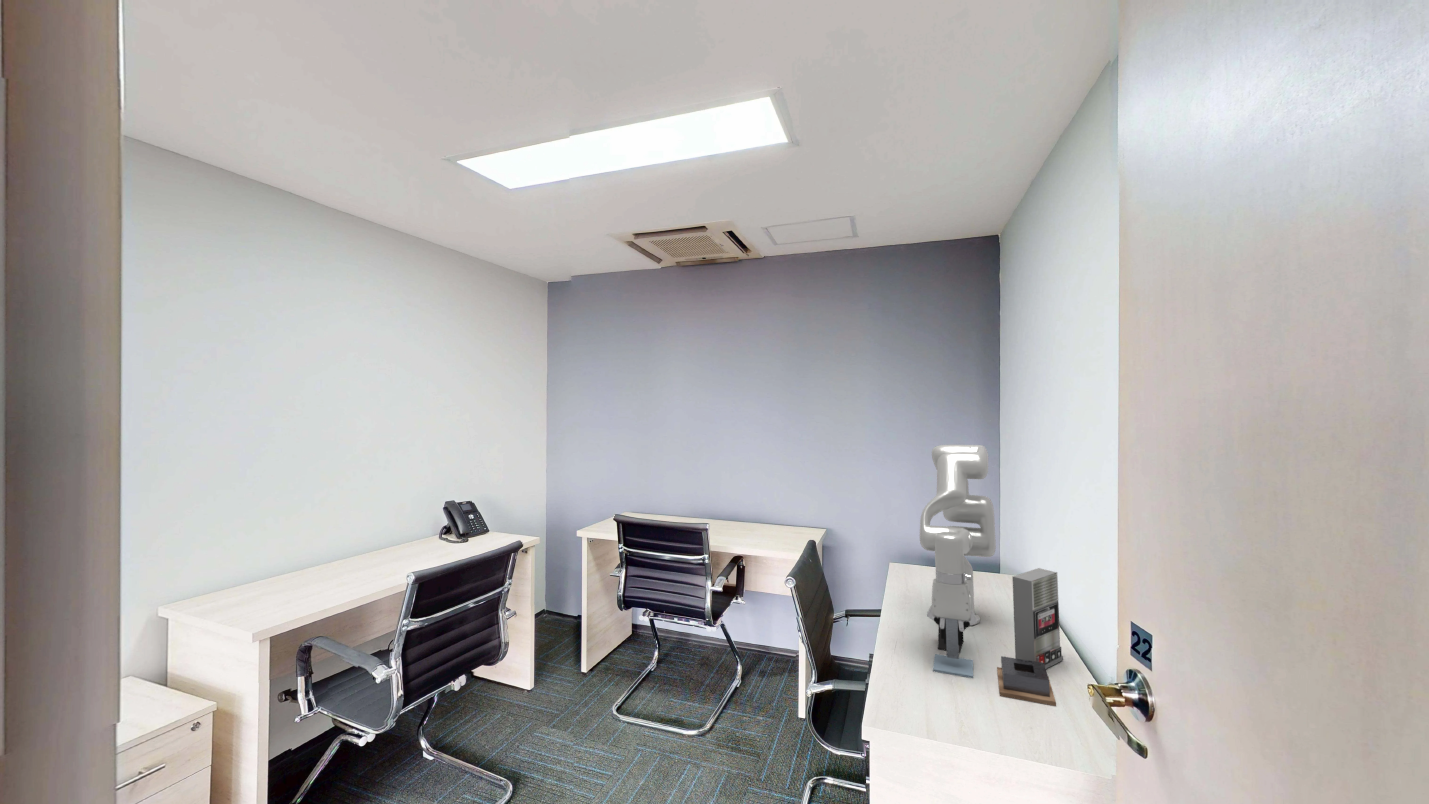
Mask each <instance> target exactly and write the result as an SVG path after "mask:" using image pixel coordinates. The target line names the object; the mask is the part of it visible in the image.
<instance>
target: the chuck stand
mask: <svg viewBox="0 0 1429 804" xmlns="http://www.w3.org/2000/svg"><path fill="white" fill-rule="evenodd" d="M996 671H997V680H998V681H997V683H998V689H999V690H998V691H999V697H1004V698H1009V699H1015V700H1019V701H1025V702H1026V701H1027V702H1031V703H1037V704H1043V705H1046V706H1047V705H1049V706H1053V707H1057V702H1056V699H1055V694H1054V691H1053V688H1052V684H1051V681H1050V677H1049V676H1048V678H1049V688H1050V697H1047V696H1041V695H1035V694H1030V693H1024V692H1019V691H1013V690H1007V689H1004V687H1003V679H1002V669H1001V667H1000V666H997V667H996Z"/></svg>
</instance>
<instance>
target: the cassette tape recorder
mask: <svg viewBox="0 0 1429 804" xmlns="http://www.w3.org/2000/svg"><path fill="white" fill-rule="evenodd" d="M1058 582H1059V581H1058V572H1057V571H1052V570H1050V569H1049V570H1047V569H1044V568H1041V567H1037V568H1035V569H1031V570H1028V571H1025V572H1022V573H1019V574H1016V575H1013V576H1012V599H1013V600H1012V602H1013V605H1012V606H1013V625H1014V626H1013V627H1014V653H1015V654H1014V658H1016V659H1022V660H1029V661H1035V662H1042V663H1044V664H1045V668H1046V669H1048V668H1050V667H1052V666H1054V665H1056V664H1058V663H1060V662H1062V661H1064V656H1063V654H1062V646H1061V637H1060V636H1061V635H1060V612H1059V611H1060V607H1059V605H1060V604H1059V584H1058Z"/></svg>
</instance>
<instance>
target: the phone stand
mask: <svg viewBox="0 0 1429 804" xmlns="http://www.w3.org/2000/svg"><path fill="white" fill-rule="evenodd" d="M939 618H940V617H939ZM945 624H946V618H945ZM958 626H959V623H958ZM937 633H938V635H937V637H938V638H937V639H938V642H937V649H938V650H941V651H946V652H947V645H946V644H944V639H941V628H940V626H939V625H938V632H937ZM963 645H964V639H963V642H961V646H959V654H960V653H961V652H962V647H963Z"/></svg>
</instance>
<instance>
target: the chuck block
mask: <svg viewBox="0 0 1429 804" xmlns="http://www.w3.org/2000/svg"><path fill="white" fill-rule="evenodd" d="M1000 663H1001V664H1000V665H1001V667H1000V668H1001V669H1002V679H1003V687H1004V689H1007V690H1013V691H1019V692H1024V693H1030V694H1035V695H1041V696H1047V697H1050V688H1049V680H1050V677H1049V675H1048V672H1047V668H1045V664H1044V663H1042V662H1035V661H1029V660H1022V659H1016V658H1015V657H1009V656H1003V655H1001V656H1000ZM1048 677H1049V678H1048Z"/></svg>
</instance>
